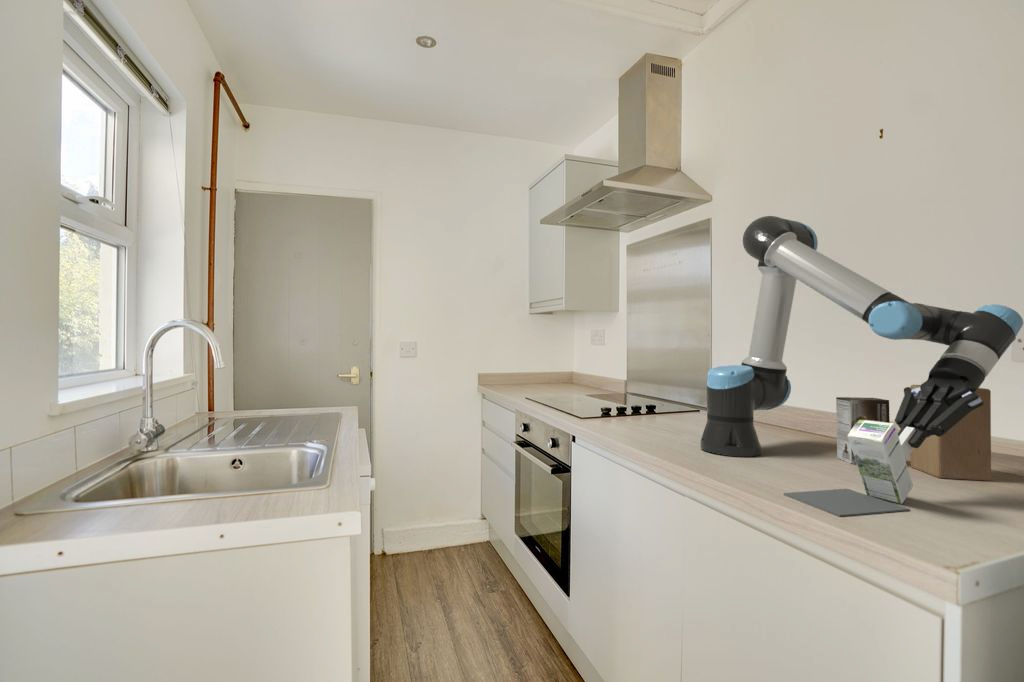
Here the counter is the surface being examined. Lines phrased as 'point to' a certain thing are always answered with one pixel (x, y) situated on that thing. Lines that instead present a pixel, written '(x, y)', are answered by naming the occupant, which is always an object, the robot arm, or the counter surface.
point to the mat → (845, 502)
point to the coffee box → (856, 420)
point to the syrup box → (880, 460)
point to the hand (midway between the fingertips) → (895, 456)
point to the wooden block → (959, 446)
